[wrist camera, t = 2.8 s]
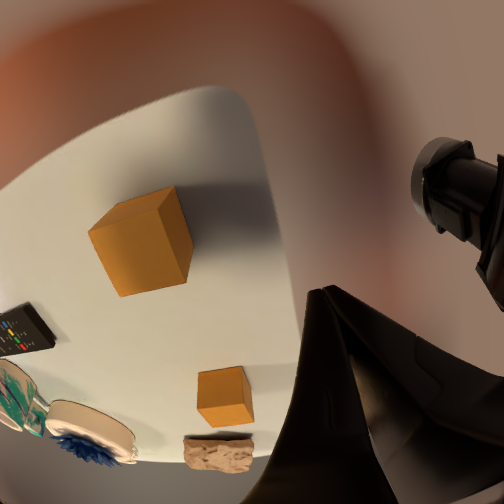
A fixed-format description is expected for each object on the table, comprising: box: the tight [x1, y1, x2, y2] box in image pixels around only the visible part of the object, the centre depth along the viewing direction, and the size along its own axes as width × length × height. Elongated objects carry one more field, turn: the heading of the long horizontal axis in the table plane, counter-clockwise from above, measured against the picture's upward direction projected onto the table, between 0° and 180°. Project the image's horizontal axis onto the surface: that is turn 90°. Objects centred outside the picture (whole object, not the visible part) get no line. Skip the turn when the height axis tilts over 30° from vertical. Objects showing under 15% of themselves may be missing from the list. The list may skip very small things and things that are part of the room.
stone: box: [183, 439, 254, 473], centre depth 32 cm, size 9×11×5 cm
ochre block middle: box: [197, 366, 254, 428], centre depth 24 cm, size 4×4×4 cm
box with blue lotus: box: [45, 401, 137, 467], centre depth 30 cm, size 7×16×20 cm
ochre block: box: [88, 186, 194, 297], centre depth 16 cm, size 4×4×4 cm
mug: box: [0, 360, 48, 437], centre depth 23 cm, size 8×12×8 cm
